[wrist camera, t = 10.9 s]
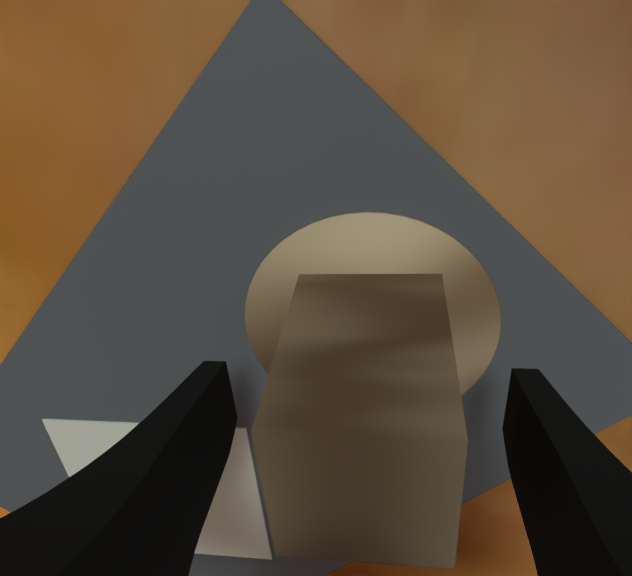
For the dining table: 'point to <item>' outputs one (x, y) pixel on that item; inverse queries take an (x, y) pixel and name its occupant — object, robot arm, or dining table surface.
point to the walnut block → (364, 423)
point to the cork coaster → (378, 258)
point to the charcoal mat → (250, 250)
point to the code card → (229, 500)
